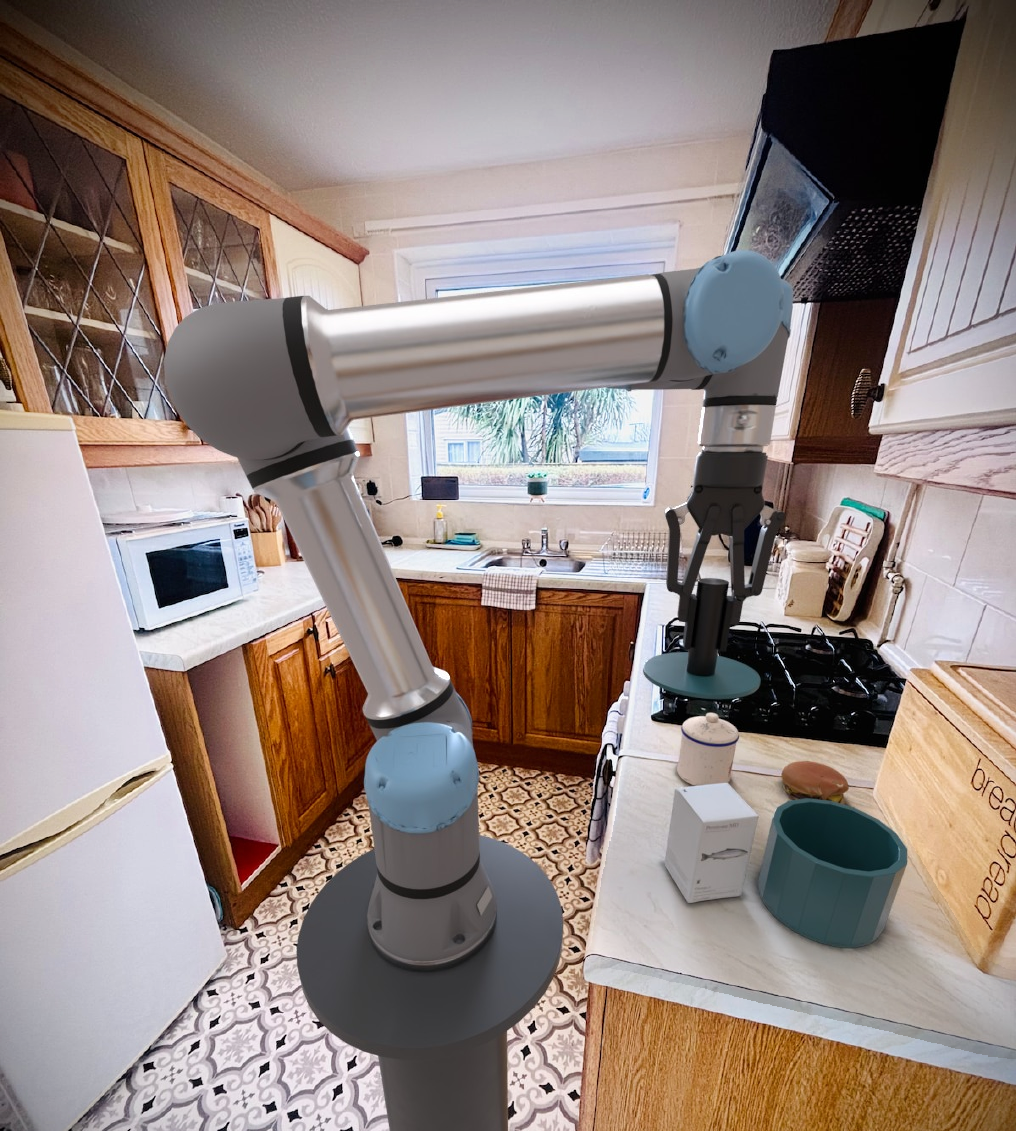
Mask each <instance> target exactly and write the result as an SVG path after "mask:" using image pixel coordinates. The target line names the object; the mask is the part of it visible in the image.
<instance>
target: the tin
mask: <svg viewBox="0 0 1016 1131" xmlns="http://www.w3.org/2000/svg"><path fill="white" fill-rule="evenodd" d="M768 831H769V832H768V836H767V840H766V845H765V849H764V854H763V858H762V861H761V862H762V863H761V866H760V871H759V875H758V880H757V885H758V886H757V888H758V892H759V896H760V899H761V900H762V902H763V904H764V906H765V907H766V908H767V910H768V911H769V912H770V913H771V914H772V915H773V917H775V918H776V919H777V920H778V921H779V922H780V923H782V924H783V925H784V926H785V927H787V928H788V929H790V930H792V931H793V932H795V933H797V934H798V935H800V936H801V937H804V938H806V939H809V940H812V941H814V942H815V943H819V944H823V945H825V946H830V947H835V948H844V949H847V948H848V949H850V948H851V949H853V948H854V949H855V948H861V947H865V946H868V945H870V944H872V943H874V942H875V941H876V940H877V939H878V938H879V937H880V936H881V934H882V932H884V930H885V927H886V925H887V921H888V918H889V916H890V913H891V910H892V908H893V905H894V901H895V899H896V897H897V893H898V891H899V889H900V888H899V887H900V885H901V883H902V880H903V876H904V873H905V871H906V868H907V866H908V848H907V846H906V845H905V844H904V842H903V840H902V839H901V838H900V836H899V835H898V834H897V833H896V832H895V831H894V830H893V829H892V828H890V827H889V826H887V824H885V823H884V822H882V821H881V820H880V819H878V818H876V817H874V816H873V815H871V814H868V813H867V812H864V811H862V810H860V809H858V808H856V807H854V806H850V805H847V804H845V803H844V804H840V803H837V802H833V801H828V800H819V799H809V798H805V799H798V800H796V799H791V800H788V801H785V802H784V803H782V804H780V805H778V806H776V808H775V809H774V813H773V816H772V819H771V822H770V827H769V830H768Z"/></svg>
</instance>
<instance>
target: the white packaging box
mask: <svg viewBox="0 0 1016 1131" xmlns="http://www.w3.org/2000/svg"><path fill="white" fill-rule="evenodd" d="M672 801H673V802H672V807H671V814H670V821H669V827H668V828H669V829H668V834H667V842H666V849H665V855H664V862H663V864H664V866H665V867H666V869H667V871H668V873H669V875H670V876H671V878H672V880H673V881H674V883H675V884H676V886H677V887H678V890H679V891H680V893H681V894H682V896H683V898H684V900H686V902H687V904H692V903H693V904H694V903H697V902H698V903H699V902H703V901H709V900H710V901H711V900H718V899H724V898H725V899H726V898H734V897H741V896H742V893H743V890H744V884H745V880H746V874H747V870H748V865H749V861H750V856H751V852H752V847H753V843H754V840H755V833H756V830H757V825H758V820H759V814H758V813H757V812H756V811H755V810H754V809H753V808H752V807H751V806H750V804H748V802H746V801H745V799H744V798H743V797H742V796H741V795H740V794H739V793H738V792H737V791H736V790H735V789H734V788H733V786H731V784H729V782H728V783H718V784H709V785H698V786H694V785H690V786H681V787H675V788H674V793H673V800H672Z"/></svg>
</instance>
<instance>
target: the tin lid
mask: <svg viewBox="0 0 1016 1131" xmlns="http://www.w3.org/2000/svg"><path fill="white" fill-rule="evenodd" d="M729 585H730V582H729V581H728V580H726V579H722V578H717V577H703V578H699V579H698V580H697V586H696V593H695V595H696V598H697V605H696V612H695V619H694V627H693V634H692V641H691V649H688V651H681V652H680V651H678V652H667V653H662V654H657V655H654V656H653V657H650V658H648V659H647V660H646V661H645V662H644V664H643V668H642V673H643V675H644V677H645V678H646V679H647V680H648V681H649V682H650V683H651V684H653V685H654V686H656V687H659V688H661V689H663V690H665V691H668V692H670V693H674V694H677V695H682V696H686V697H690V698H700V699H706V700H730V699H737V698H743V697H747V696H749V695H752V694H754V693H755V692H756V691H757V690H758V689H759V688H760V686H761V677H760V675H759V673H758V672H757V671H756V670H755V669H753V668H752V667H750V665H747V664H745V663H743V662H740V661H737V660H735V659H731V658H728V657H725V656H721V655H719V643H720V637H721V630H722V624H723V618H724V611H725V605H726V599H727V596H728V592H729Z"/></svg>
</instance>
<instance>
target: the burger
mask: <svg viewBox="0 0 1016 1131" xmlns="http://www.w3.org/2000/svg"><path fill="white" fill-rule="evenodd" d="M781 779H782V781H781V786H782V788H783V790H784V791H785V792H786V793H787V794H788V795H789V796H790V797H792V798H793V800H798V799H805V798H809V799H819V800H828V801H833V802H837V803H840V804H844V805H845V803H846V801H845V800H846V799H845V796H844V794H845V793H847V792H848V791H849V788H850V786H849V785H850V784H849V783H848V781H847V779H846V777H845V776H844V775H843V774H842V773H841V772H839V771H838V770H836V769H835V768H833V767H831V766H829V765H826V764H824V763H820V762H816V761H810V760H803V761H802V760H800V761H799V760H798V761H793V762H791V763H789V764H787V765H786V766H785V767H784V768H783V769H782V771H781Z"/></svg>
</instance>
